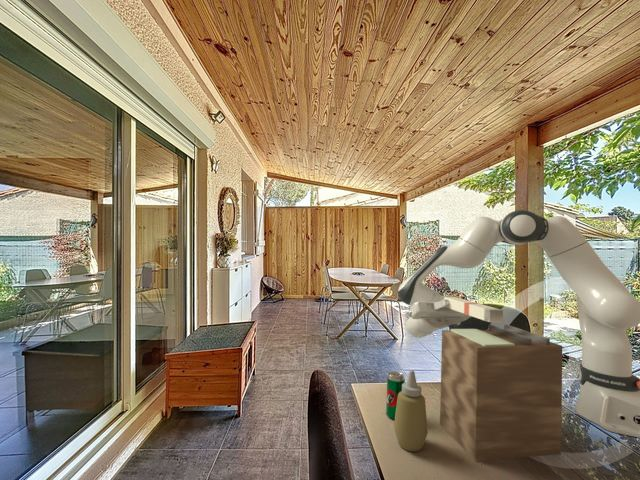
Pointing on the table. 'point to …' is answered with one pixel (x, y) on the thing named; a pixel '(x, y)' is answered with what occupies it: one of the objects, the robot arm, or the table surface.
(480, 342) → the plate
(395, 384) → the soda can
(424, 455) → the table surface
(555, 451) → the cabinet
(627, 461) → the table surface
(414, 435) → the squeeze bottle
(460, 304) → the red-banded cream beam
